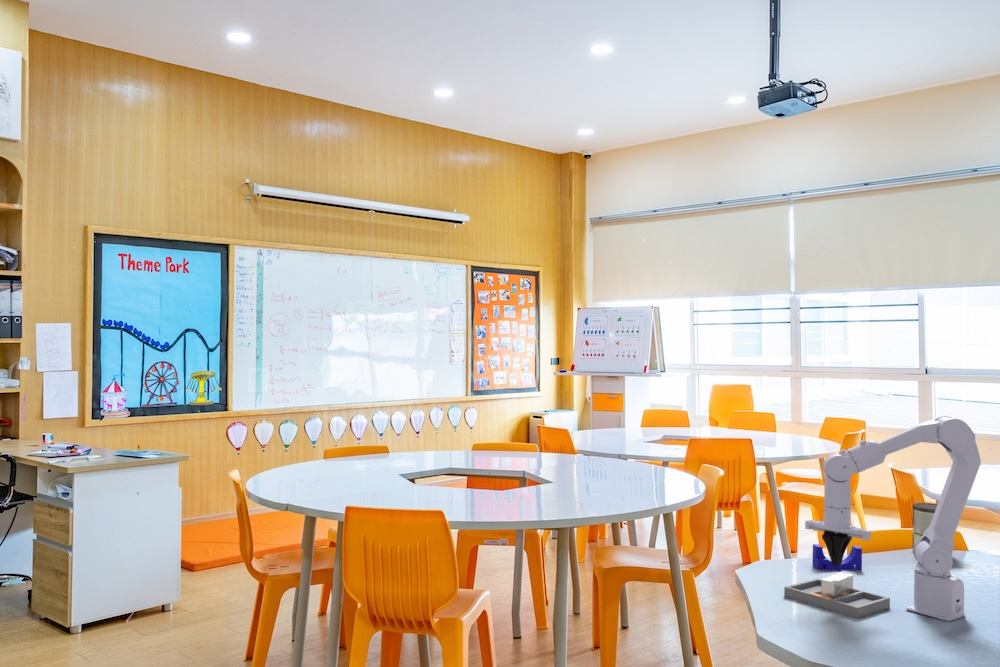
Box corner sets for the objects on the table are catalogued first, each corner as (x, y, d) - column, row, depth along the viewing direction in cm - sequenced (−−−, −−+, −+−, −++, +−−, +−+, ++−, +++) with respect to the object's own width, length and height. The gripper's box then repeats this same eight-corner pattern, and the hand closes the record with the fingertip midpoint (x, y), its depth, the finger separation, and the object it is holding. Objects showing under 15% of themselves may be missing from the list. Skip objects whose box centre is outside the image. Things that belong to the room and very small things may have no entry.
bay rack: (889, 607, 180) (889, 597, 180) (857, 618, 172) (857, 607, 172) (817, 587, 195) (817, 577, 195) (784, 596, 187) (784, 586, 187)
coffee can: (906, 548, 239) (906, 502, 239) (942, 550, 237) (943, 503, 238) (919, 557, 228) (920, 508, 229) (957, 559, 227) (958, 510, 227)
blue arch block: (818, 570, 212) (818, 548, 212) (812, 566, 216) (812, 544, 216) (863, 572, 211) (864, 549, 211) (857, 568, 215) (857, 545, 216)
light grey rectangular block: (852, 594, 186) (853, 575, 186) (834, 602, 179) (834, 582, 179) (840, 591, 188) (840, 572, 188) (821, 599, 182) (821, 579, 182)
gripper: (876, 509, 181) (875, 569, 181) (815, 500, 192) (814, 556, 192) (863, 513, 177) (862, 574, 176) (801, 503, 187) (800, 560, 187)
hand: (836, 565), depth 184 cm, fingers closed
